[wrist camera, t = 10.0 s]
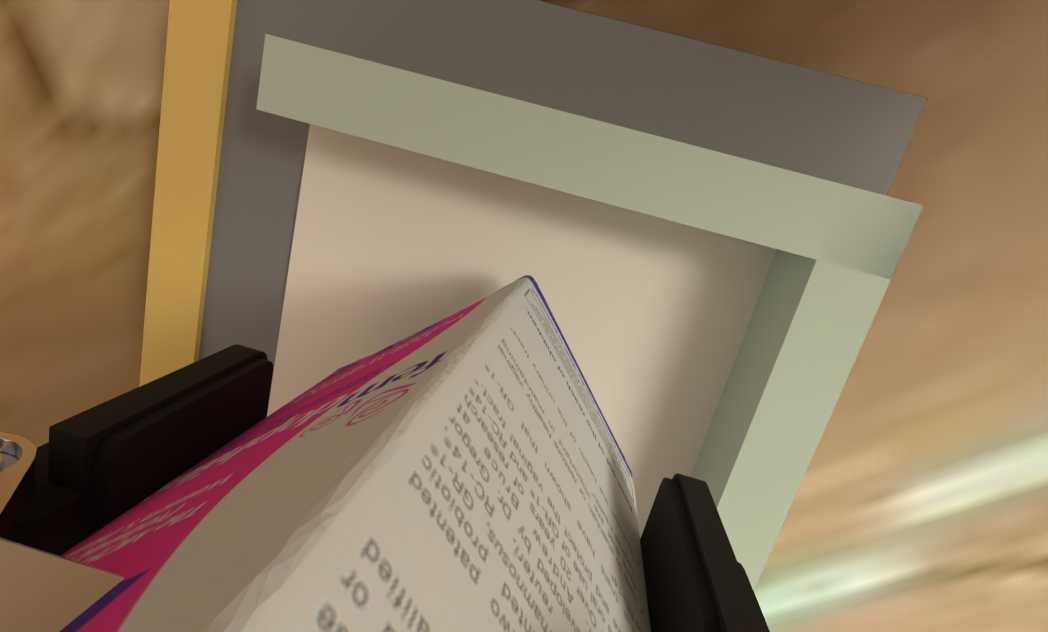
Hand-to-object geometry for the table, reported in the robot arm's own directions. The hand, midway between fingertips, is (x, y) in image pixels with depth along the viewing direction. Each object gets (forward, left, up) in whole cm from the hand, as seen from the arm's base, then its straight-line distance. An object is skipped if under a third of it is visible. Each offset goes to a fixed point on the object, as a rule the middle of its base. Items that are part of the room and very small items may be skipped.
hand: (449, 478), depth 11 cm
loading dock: (0, -1, -7) cm, 8 cm away
